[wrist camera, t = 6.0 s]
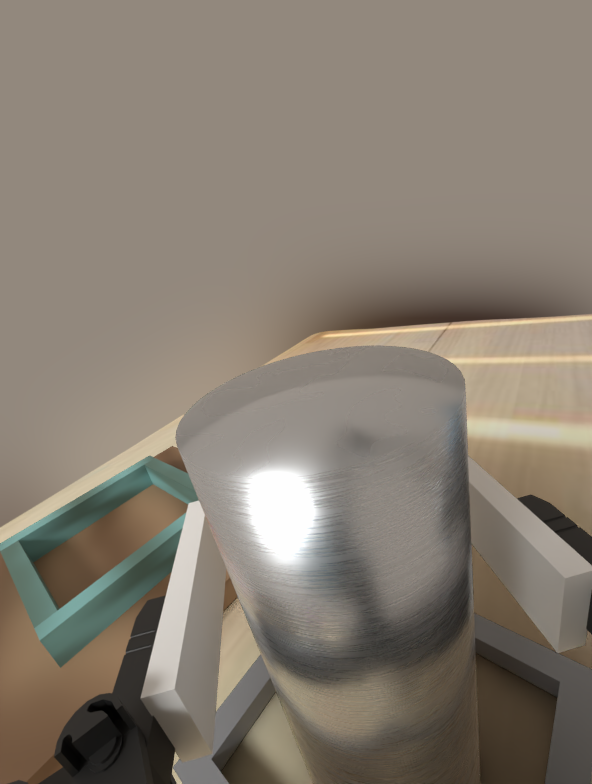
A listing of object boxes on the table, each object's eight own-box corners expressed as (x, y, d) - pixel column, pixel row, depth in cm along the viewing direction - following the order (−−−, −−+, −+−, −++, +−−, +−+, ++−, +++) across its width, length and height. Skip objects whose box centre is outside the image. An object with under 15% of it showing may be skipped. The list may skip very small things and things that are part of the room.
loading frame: (344, 562, 20) (341, 549, 20) (596, 689, 13) (599, 672, 12) (182, 781, 13) (172, 767, 12) (543, 1359, 6) (547, 1367, 5)
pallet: (177, 458, 36) (165, 429, 35) (311, 516, 24) (301, 475, 23) (-45, 598, 24) (-76, 561, 23) (2, 848, 12) (-57, 801, 11)
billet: (359, 623, 17) (297, 344, 12) (501, 711, 13) (503, 346, 8) (275, 760, 13) (124, 434, 8) (441, 949, 9) (361, 535, 4)
